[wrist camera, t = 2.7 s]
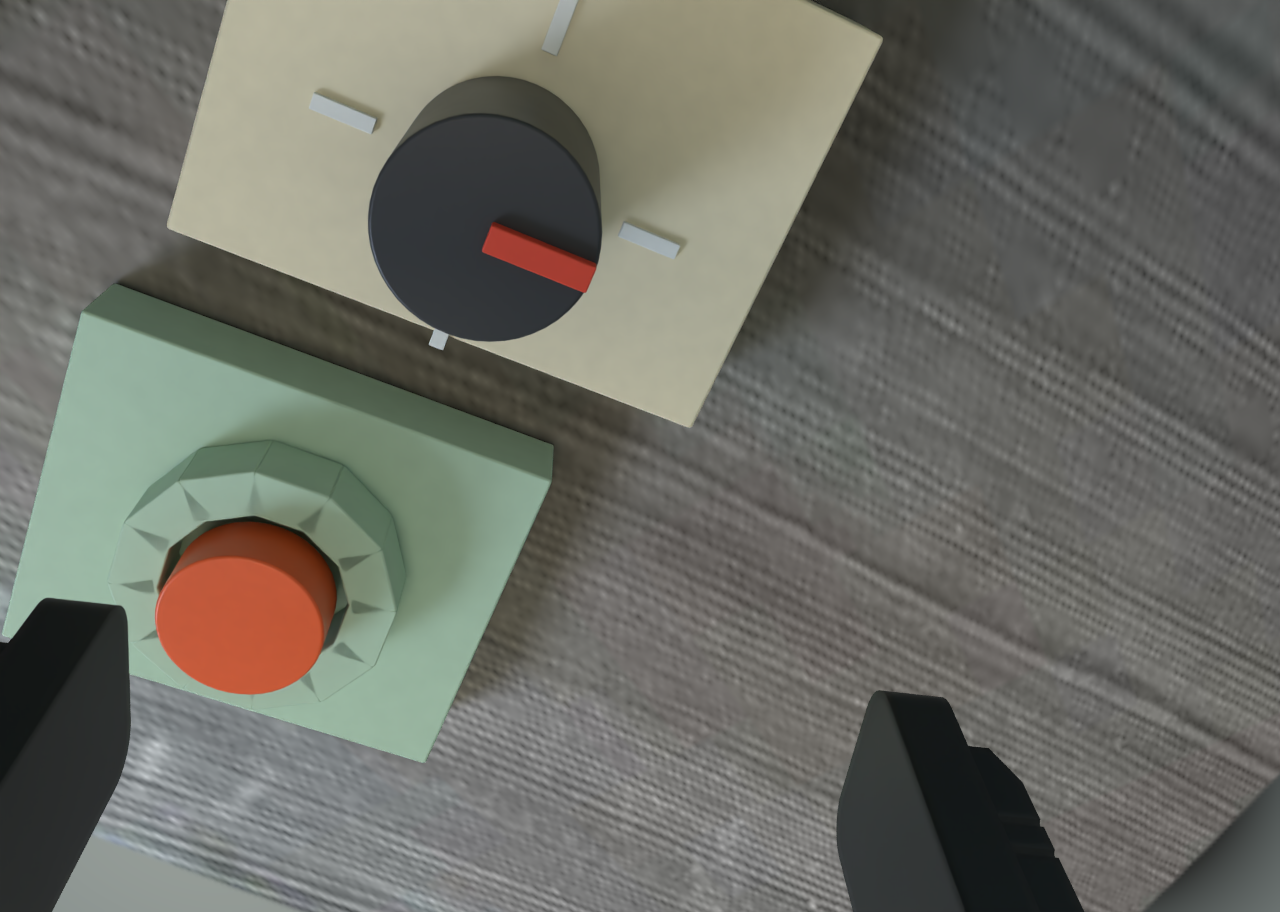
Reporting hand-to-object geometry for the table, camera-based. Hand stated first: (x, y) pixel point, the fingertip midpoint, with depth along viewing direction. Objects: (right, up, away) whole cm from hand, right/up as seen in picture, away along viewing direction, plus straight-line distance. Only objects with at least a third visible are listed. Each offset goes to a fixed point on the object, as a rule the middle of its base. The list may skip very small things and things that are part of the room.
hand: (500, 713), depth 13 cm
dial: (-2, +9, +14) cm, 16 cm away
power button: (-8, -1, +17) cm, 19 cm away
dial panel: (-1, +11, +16) cm, 19 cm away
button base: (-8, +1, +20) cm, 22 cm away
